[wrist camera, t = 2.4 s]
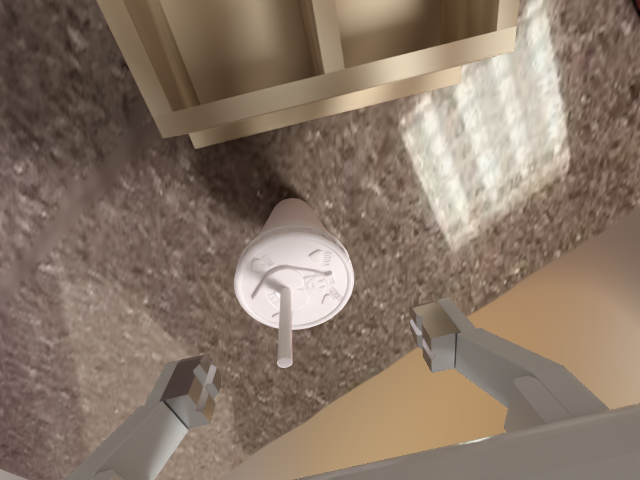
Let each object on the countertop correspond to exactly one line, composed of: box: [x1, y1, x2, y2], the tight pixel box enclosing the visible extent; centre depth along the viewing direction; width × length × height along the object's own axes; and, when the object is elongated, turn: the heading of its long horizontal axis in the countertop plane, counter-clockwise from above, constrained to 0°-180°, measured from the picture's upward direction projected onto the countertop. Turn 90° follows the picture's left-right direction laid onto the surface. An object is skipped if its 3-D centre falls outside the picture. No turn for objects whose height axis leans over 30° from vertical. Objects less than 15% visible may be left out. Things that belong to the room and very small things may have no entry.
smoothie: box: [234, 198, 354, 368], centre depth 15 cm, size 6×6×14 cm
